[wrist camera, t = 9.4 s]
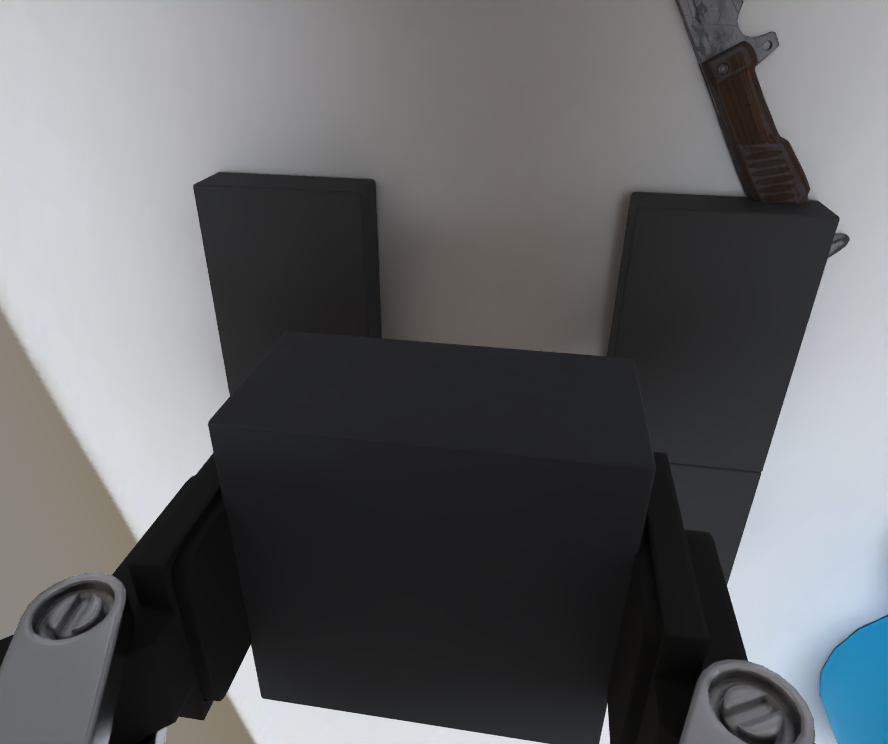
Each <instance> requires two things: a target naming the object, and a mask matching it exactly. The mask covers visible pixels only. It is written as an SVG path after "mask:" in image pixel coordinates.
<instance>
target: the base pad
mask: <svg viewBox="0 0 888 744" xmlns="http://www.w3.org/2000/svg"><path fill="white" fill-rule="evenodd" d="M193 188H194V194H195V199H196V205H197V211H198V216H199V222H200V228H201V233H202V239H203V245H204V251H205V256H206V262H207V268H208V273H209V279H210V285H211V290H212V296H213V302H214V308H215V313H216V319H217V325H218V330H219V336H220V342H221V348H222V353H223V359H224V365H225V370H226V376H227V382H228V387H229V393H230V396H231V395H232V394H233V393H234V391H235V390H236V389H237V388H238V387H239V386H240V384H241V383H242V382H243V381H244V380H245V379H246V377H247V376H248V375H249V374H250V373H251V372H252V370H253V369H254V368H255V367H256V366H257V365H258V363H259V362H260V361H261V360H262V359H263V358H264V356H265V355H266V354H267V353H268V352H269V351H270V349H271V348H272V347H273V346H274V345H275V344H276V342H277V341H278V340H279V339H280V338H281V337H282V335H283V334H284V333H285V332H287V331H294V332H306V333H319V334H331V335H344V336H356V337H369V338H381V339H382V335H381V311H380V286H379V262H378V238H377V214H376V190H375V181H374V180H367V179H346V178H325V177H304V176H284V175H263V174H242V173H221V172H219V173H217V174H214V175H212V176H210V177H208V178H206V179H204V180H202V181H200V182H198V183H196V184H194V186H193ZM838 222H839V217H838V216H837V215H836V214H835V213H833V212H832V211H831V210H829V209H828V208H827V207H826V206H824V205H823V204H822V203H820V202H819V201H809V203H807V204H790V203H766V202H757V201H754V200H751V199H749V198H745V197H724V196H704V195H683V194H662V193H641V192H634V193H632V194H631V198H630V205H629V212H628V218H627V225H626V232H625V239H624V245H623V252H622V259H621V266H620V273H619V279H618V286H617V293H616V300H615V307H614V313H613V320H612V327H611V334H610V340H609V347H608V354H607V357H619V358H631V359H634V362H635V367H636V372H637V377H638V382H639V387H640V392H641V396H642V401H643V406H644V411H645V416H646V421H647V426H648V431H649V436H650V441H651V446H652V451H654V452H664V453H666V454H667V456H668V460H669V465H670V469H671V473H672V478H673V482H674V486H675V491H676V495H677V499H678V503H679V508H680V512H681V516H682V521H683V525H684V529H686V530H695V531H704V532H709V533H710V534H711V535H712V537H713V540H714V542H715V546H716V549H717V553H718V557H719V560H720V564H721V567H722V571H723V574H724V578H725V581H726V585H727V583H728V580H729V577H730V574H731V570H732V567H733V564H734V560H735V557H736V554H737V551H738V547H739V544H740V541H741V538H742V534H743V531H744V528H745V525H746V521H747V518H748V515H749V512H750V508H751V505H752V502H753V499H754V495H755V492H756V489H757V486H758V482H759V479H760V476H761V471H762V470H763V467H764V463H765V460H766V457H767V454H768V450H769V447H770V444H771V441H772V437H773V434H774V431H775V428H776V424H777V421H778V418H779V414H780V411H781V408H782V405H783V401H784V398H785V395H786V392H787V388H788V385H789V382H790V379H791V375H792V372H793V369H794V366H795V362H796V359H797V356H798V353H799V349H800V346H801V343H802V340H803V336H804V333H805V330H806V327H807V323H808V320H809V317H810V314H811V310H812V307H813V304H814V301H815V297H816V294H817V291H818V288H819V284H820V281H821V278H822V275H823V271H824V268H825V265H826V262H827V258H828V255H829V252H830V248H831V245H832V242H833V239H834V235H835V232H836V229H837V226H838Z"/></svg>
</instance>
